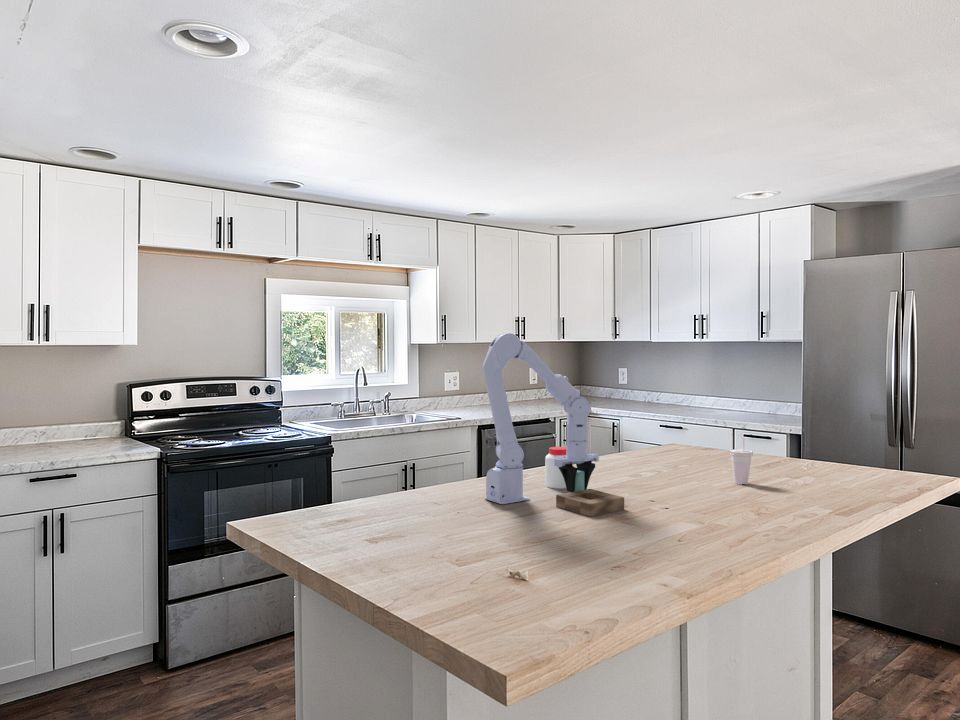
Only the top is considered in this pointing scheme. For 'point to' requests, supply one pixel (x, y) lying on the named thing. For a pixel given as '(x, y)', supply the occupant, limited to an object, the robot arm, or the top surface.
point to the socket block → (590, 502)
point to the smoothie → (741, 464)
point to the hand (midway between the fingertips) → (576, 490)
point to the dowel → (579, 481)
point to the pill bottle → (554, 468)
